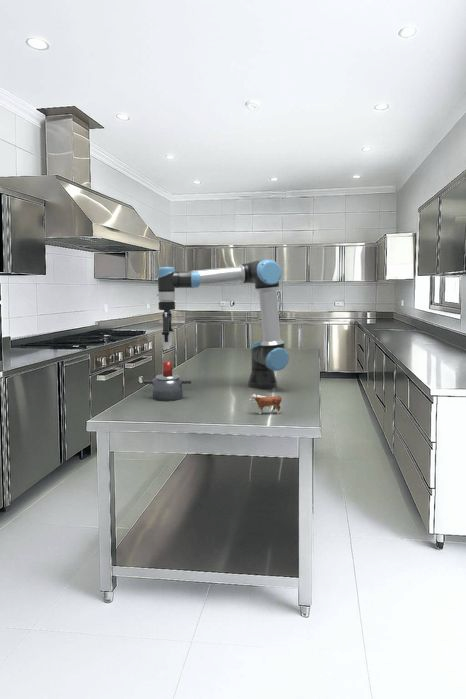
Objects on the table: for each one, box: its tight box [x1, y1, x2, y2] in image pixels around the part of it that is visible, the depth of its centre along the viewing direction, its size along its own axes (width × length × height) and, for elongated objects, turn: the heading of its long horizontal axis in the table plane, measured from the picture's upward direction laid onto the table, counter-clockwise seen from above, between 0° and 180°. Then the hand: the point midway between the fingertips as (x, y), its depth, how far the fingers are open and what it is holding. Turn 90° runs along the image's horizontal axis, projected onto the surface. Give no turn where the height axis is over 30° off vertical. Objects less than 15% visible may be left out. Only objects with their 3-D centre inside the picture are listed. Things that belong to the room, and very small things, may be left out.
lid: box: [155, 360, 181, 381], centre depth 256 cm, size 11×11×8 cm
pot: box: [142, 377, 192, 402], centre depth 257 cm, size 22×14×9 cm, turn 92°
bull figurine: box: [248, 393, 282, 416], centre depth 228 cm, size 4×13×8 cm, turn 95°
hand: (167, 347), depth 255 cm, fingers open, 13 cm apart
